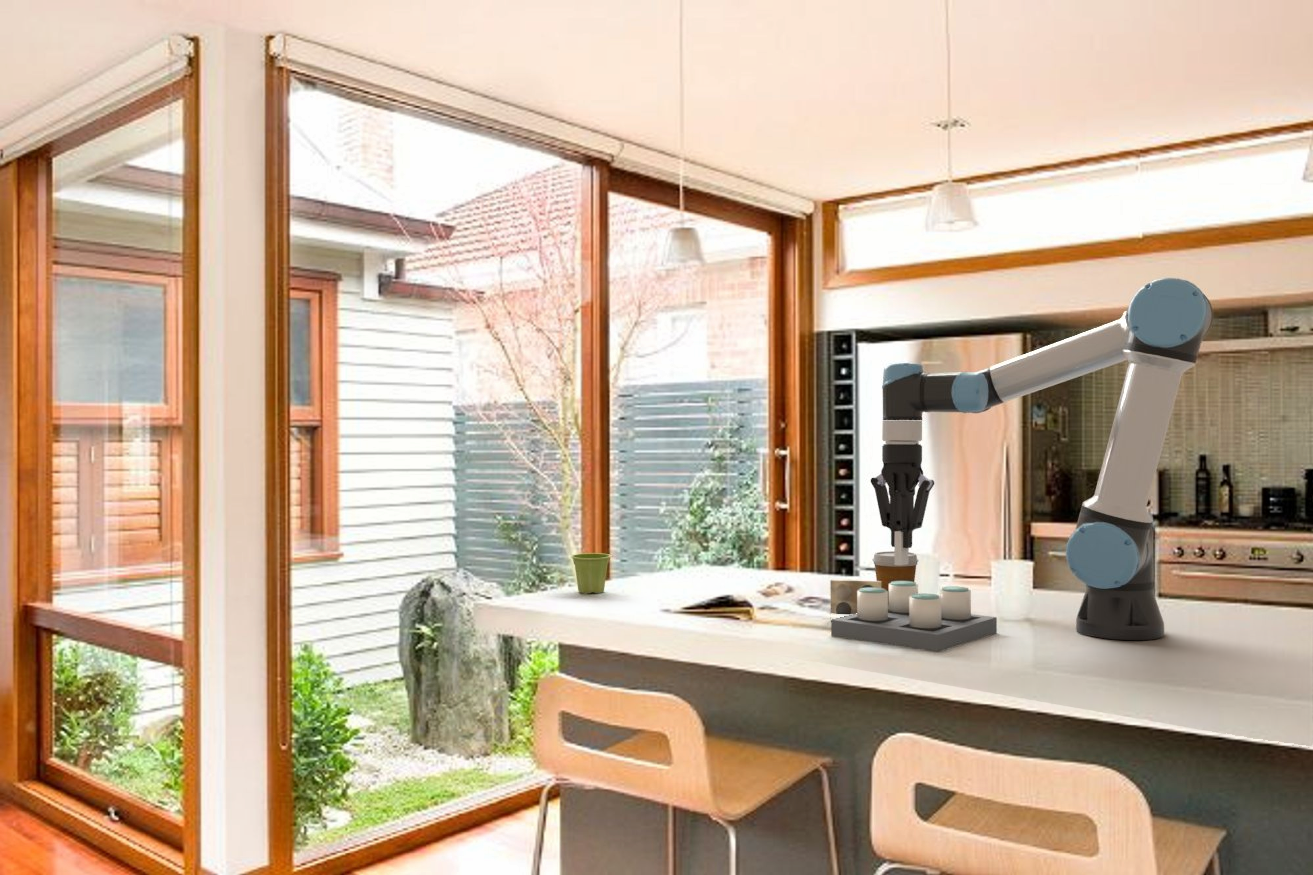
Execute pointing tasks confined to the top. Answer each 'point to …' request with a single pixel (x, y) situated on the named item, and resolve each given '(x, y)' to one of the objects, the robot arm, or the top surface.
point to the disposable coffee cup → (893, 569)
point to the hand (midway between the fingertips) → (901, 564)
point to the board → (914, 631)
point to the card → (847, 594)
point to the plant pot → (591, 571)
